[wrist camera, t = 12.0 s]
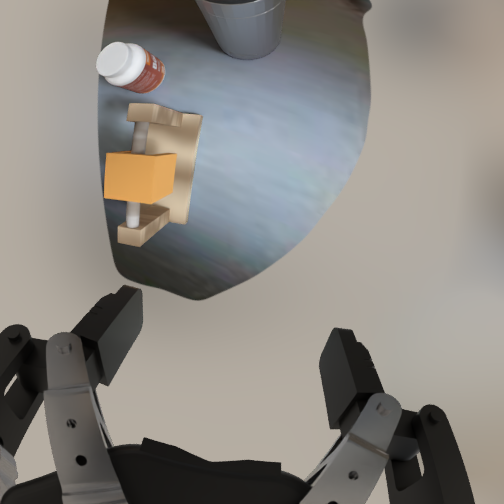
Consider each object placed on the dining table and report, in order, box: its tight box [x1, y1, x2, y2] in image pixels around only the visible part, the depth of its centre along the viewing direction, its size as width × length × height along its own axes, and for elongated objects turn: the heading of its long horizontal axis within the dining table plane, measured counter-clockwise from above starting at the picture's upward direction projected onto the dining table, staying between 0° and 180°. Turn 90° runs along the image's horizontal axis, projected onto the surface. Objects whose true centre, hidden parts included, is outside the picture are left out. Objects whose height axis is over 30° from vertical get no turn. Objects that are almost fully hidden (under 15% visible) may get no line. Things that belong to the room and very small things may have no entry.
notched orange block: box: [104, 151, 177, 204], centre depth 29 cm, size 5×6×7 cm
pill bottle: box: [96, 42, 165, 94], centre depth 27 cm, size 6×6×11 cm
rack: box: [118, 103, 203, 247], centre depth 32 cm, size 16×8×12 cm, turn 170°
